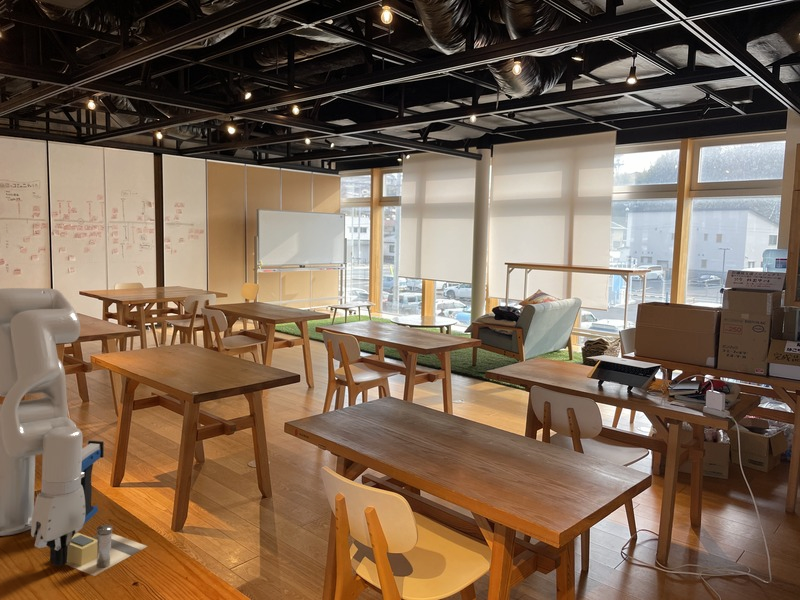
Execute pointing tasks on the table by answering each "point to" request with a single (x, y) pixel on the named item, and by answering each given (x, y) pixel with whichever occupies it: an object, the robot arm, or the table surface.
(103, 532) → the steel pin
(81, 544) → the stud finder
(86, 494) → the handheld scanner
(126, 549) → the white square mat
